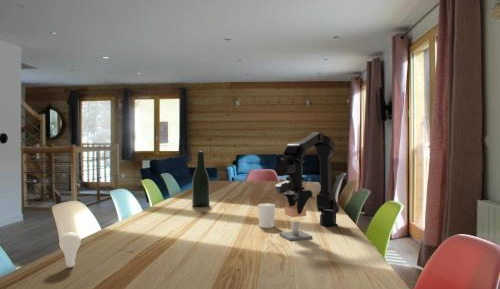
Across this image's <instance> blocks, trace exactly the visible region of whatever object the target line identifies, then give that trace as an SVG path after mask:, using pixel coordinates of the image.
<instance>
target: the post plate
mask: <svg viewBox="0 0 500 289" xmlns="http://www.w3.org/2000/svg"><path fill="white" fill-rule="evenodd" d="M299 223H300V222H299V221H292V226H291V227H292V228H291V229H292V231H283V232H279V234H278V235H279V236H280V237H282V238H283V239H285V240H287V241H289V242H292V241H301V240H302V241H303V240H313V235H311V234H308V233H307V232H304V231H302V230H300V227H299V225H300V224H299Z"/></svg>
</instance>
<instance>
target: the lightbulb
mask: <svg viewBox="0 0 500 289" xmlns="http://www.w3.org/2000/svg"><path fill="white" fill-rule="evenodd" d="M81 243H82V239H81V237H80V235H79V234H78V233H77V232H74V231H73V232H71V231H70V232H66V233H64V234H63V235H62V236H61V237H60V238H59V243H58V244H59V247H60V249H61V251H62V252H63V254H64V255H63V256H64V259H65V266H66V267H68V268H69V269H70V268H73V266H74V267H75V265H76V258H77V252H78V250H79V248H80V246H81Z"/></svg>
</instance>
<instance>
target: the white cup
mask: <svg viewBox="0 0 500 289" xmlns="http://www.w3.org/2000/svg"><path fill="white" fill-rule="evenodd" d="M257 213H258V225H259V226H258V227H259V228H262V229H272V228H274V227H275V220H276V219H275V218H276V217H275V215H276V204H275V203H269V202H267V203H264V202H263V203H259V204H257Z"/></svg>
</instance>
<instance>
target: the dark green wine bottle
mask: <svg viewBox="0 0 500 289" xmlns="http://www.w3.org/2000/svg"><path fill="white" fill-rule="evenodd" d="M205 164H206V163H205V153H204V151H202V150H199V151H197V153H196V168H195V171H194V173H193V177H192V186H191V187H192V190H191V198H192V199H191V203H192V204H191V205H192V206H193V207H196V208H205V207H209V206H210V203H211V202H210V201H211V197H210V193H211V192H210V177H209V174H208V171H207V169H206V166H205Z"/></svg>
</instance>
